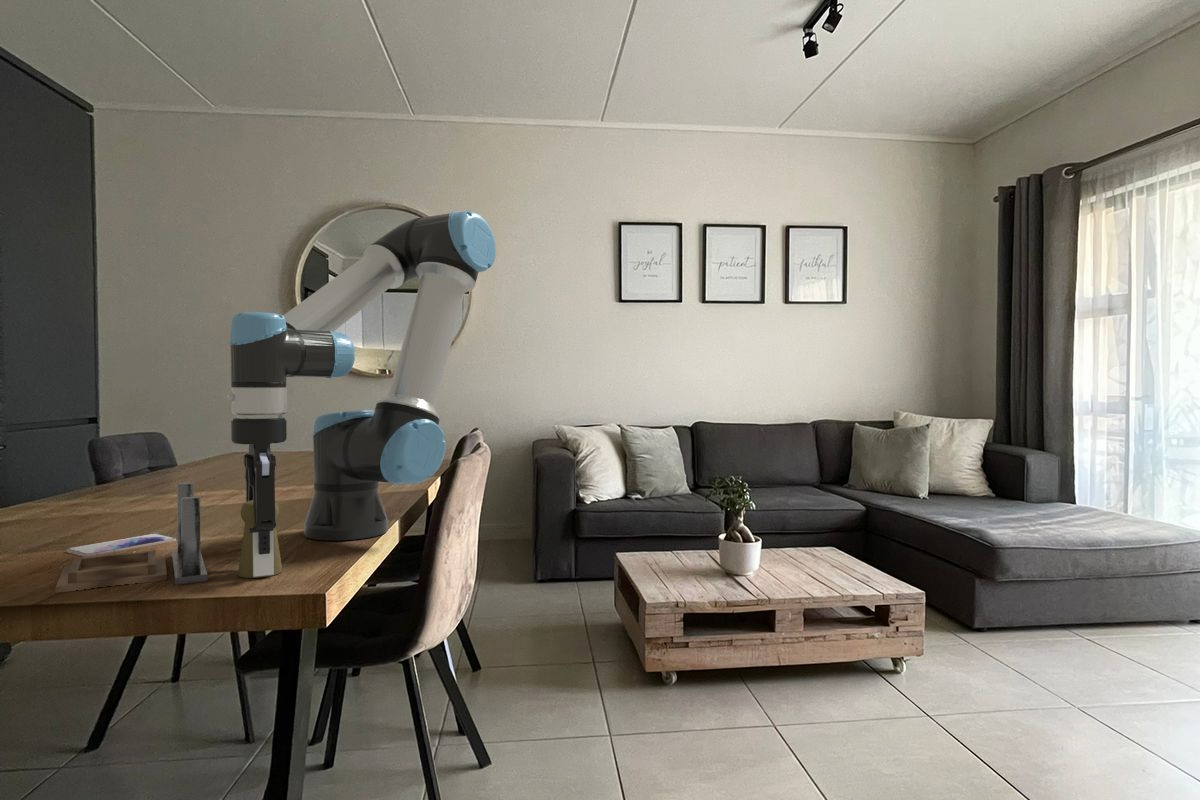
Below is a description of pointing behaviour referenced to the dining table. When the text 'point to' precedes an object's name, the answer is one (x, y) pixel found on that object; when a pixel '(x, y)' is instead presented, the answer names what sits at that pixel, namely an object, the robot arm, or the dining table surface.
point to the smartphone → (119, 545)
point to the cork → (247, 543)
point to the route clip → (188, 538)
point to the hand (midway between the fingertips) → (260, 569)
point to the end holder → (112, 571)
